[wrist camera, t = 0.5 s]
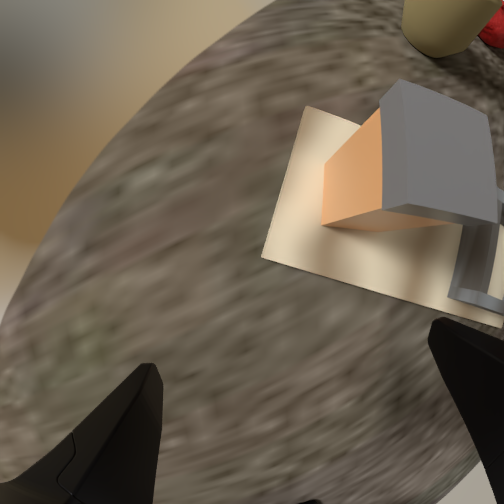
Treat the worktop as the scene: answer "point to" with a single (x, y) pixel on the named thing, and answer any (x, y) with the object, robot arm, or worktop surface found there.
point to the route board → (383, 239)
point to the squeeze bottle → (445, 24)
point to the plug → (413, 166)
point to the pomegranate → (494, 29)
